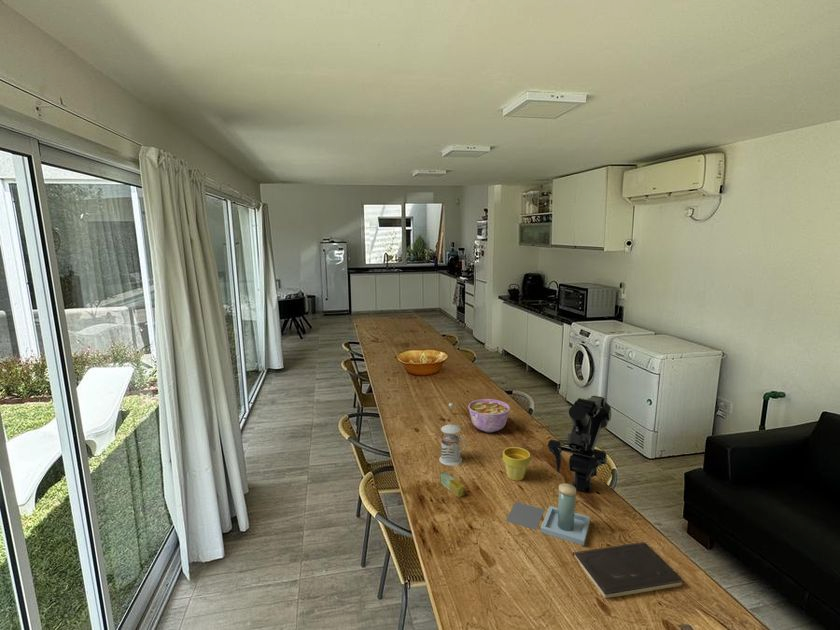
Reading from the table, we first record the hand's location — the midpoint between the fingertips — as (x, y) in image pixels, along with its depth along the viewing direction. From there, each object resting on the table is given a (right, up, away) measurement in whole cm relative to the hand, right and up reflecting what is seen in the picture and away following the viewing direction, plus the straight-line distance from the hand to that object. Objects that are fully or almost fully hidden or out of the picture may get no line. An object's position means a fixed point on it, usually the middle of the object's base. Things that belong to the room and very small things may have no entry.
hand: (572, 476), depth 146 cm
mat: (-15, -14, +1) cm, 21 cm away
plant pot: (-13, -10, +26) cm, 30 cm away
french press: (-37, -8, +38) cm, 54 cm away
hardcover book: (+7, -19, -23) cm, 30 cm away
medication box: (-39, -11, +17) cm, 44 cm away
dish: (-4, -15, -5) cm, 16 cm away
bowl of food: (-17, -2, +68) cm, 70 cm away
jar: (-4, -14, -5) cm, 16 cm away
